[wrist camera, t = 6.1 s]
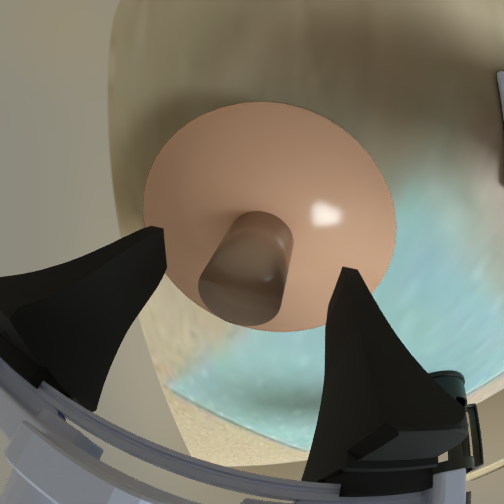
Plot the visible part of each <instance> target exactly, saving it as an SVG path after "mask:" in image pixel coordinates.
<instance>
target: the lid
mask: <svg viewBox="0 0 504 504" xmlns="http://www.w3.org/2000/svg"><path fill="white" fill-rule="evenodd" d="M143 216H144V223H145V228H146V227H149V226H155V227H160V228H164V240H165V250H166V260H167V269H166V271H165V273H166V274H167V276H168V277H169V278H170V280H171V281H172V282H173V283H174V284H175V285H176V287H177V288H178V289H180V290H181V291H182V292H183V293H184V294H185V295H186V296H187V297H188V298H189V299H191V300H192V301H193V302H195V303H196V304H197V305H199V306H200V307H202V308H203V309H205V310H206V311H208V312H210V313H212V314H214V315H215V316H217V317H219V318H221V319H223V320H225V321H227V322H230V323H233V324H236V325H240V326H243V327H247V328H252V329H256V330H263V331H271V332H292V331H302V330H307V329H313V328H316V327H320V326H323V325H326V319H327V311H328V304H329V302H330V299H331V296H332V294H333V291H334V289H335V286H336V283H337V280H338V278H339V275H340V272H341V269H342V266H344V267H348V268H353V269H357V270H358V271H359V273H360V274H361V276H362V278H363V280H364V282H365V284H366V285H367V287H368V289H369V291H370V293H371V294H372V293H373V292H374V290H375V289H376V288H377V287H378V285H379V284H380V282H381V280H382V279H383V277H384V275H385V273H386V272H387V269H388V267H389V264H390V262H391V259H392V256H393V251H394V247H395V241H396V216H395V208H394V204H393V200H392V197H391V193H390V190H389V188H388V186H387V183H386V181H385V179H384V176H383V174H382V173H381V171H380V170H379V168H378V166H377V165H376V163H375V162H374V160H373V159H372V157H371V156H370V154H369V153H368V152H367V151H366V150H365V149H364V147H363V146H362V145H361V144H360V143H359V142H358V141H357V140H356V139H355V138H354V137H353V136H352V135H351V134H349V133H348V132H347V131H346V130H344V129H343V128H342V127H341V126H339V125H338V124H336V123H334V122H333V121H331V120H329V119H328V118H326V117H324V116H322V115H320V114H318V113H315V112H313V111H310V110H308V109H305V108H302V107H298V106H294V105H290V104H286V103H278V102H268V101H259V102H244V103H239V104H234V105H230V106H225V107H221V108H218V109H216V110H213V111H211V112H208V113H205V114H203V115H201V116H199V117H198V118H196V119H194V120H192V121H191V122H189V123H187V124H186V125H185V126H184V127H182V128H181V129H180V130H179V131H178V132H176V133H175V134H174V135H173V136H172V137H171V138H170V139H169V141H168V142H167V143H166V144H165V145H164V146H163V148H162V149H161V151H160V152H159V154H158V155H157V157H156V158H155V160H154V162H153V165H152V167H151V169H150V171H149V174H148V178H147V181H146V185H145V190H144V198H143Z"/></svg>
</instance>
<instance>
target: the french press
mask: <svg viewBox="0 0 504 504" xmlns="http://www.w3.org/2000/svg"><path fill="white" fill-rule="evenodd" d="M429 375H430V376H431V377H432V378H433V379H434V380H435V381H436V382H437V383H438V384H439V385H440V386H441V387H442V388H443V389H444V390H445V391H446V392H447V393H448V394H450V395H451V396H452V397H453V398H454V399H455V400H457V401H458V402H459V403H460V404H461V405H462V406H464V407H465V411H466V412H468V414H469V420H470V428H471V436H472V445H473V456H471V455H470V443H469V434H468V435H467V437H466V438H465V439H464V440H463V441H462V442H461V443H460V444H458V445H457V446H455V447H454V448H452V449H450V450H448V461H444V462H440V463H438V465H437V467H434V468H433V475H435V474H438V473H442V472H447V471H452V470H457V469H462V468H465V469H466V473H468V472H470V471H473V470H475V469H477V468H479V467H481V466H482V465H483V463H484V462H483V449H482V439H481V431H480V424H479V418H478V411H477V406H476V404H468V405H467V398H466V393H465V388H464V383H465V380H464V376H463V375H462V374H461V373H459V372H456V371H441V372H436V373H432V374H429ZM467 424H468V423H467ZM466 504H471V491H470V492H466Z"/></svg>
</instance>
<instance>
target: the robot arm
mask: <svg viewBox="0 0 504 504" xmlns="http://www.w3.org/2000/svg"><path fill="white" fill-rule="evenodd" d="M497 81H498V86H499V91H500V97H501V104H502V111H503V119H504V71H499V72H498V73H497ZM166 269H167V260H166V250H165V240H164V228H160V227H155V226H149V227H146V228H143V229H141V230H139V231H136V232H134V233H132V234H130V235H128V236H126V237H124V238H121V239H119V240H117V241H115V242H114V243H111V244H110V245H107V246H105V247H102V248H100V249H98V250H96V251H94V252H91V253H89V254H87V255H84V256H82V257H79V258H77V259H74V260H71V261H69V262H66V263H63V264H60V265H57V266H53V267H50V268H46V269H43V270H39V271H35V272H31V273H25V274H20V275H13V276H5V277H0V429H1V431H2V432H3V433H4V434H5V436H6V437H7V438H8V439H9V440H10V442H9V444H8V445H7V447H6V449H5V457H6V459H7V461H8V462H9V464H11V466H12V467H13V470H12V472H11V475H10V477H9V479H8V481H7V483H6V485H5V487H4V490H3V492H2V494H1V496H0V504H200V503H197V502H193V501H191V500H187V499H184V498H182V497H179V496H176V495H173V494H171V493H168V492H165V491H163V490H160V489H158V488H155V487H153V486H151V485H148V484H146V483H144V482H141V481H139V480H137V479H135V478H133V477H131V476H129V475H127V474H125V473H123V472H121V471H119V470H117V469H115V468H113V467H111V466H109V465H107V464H106V463H104V462H102V461H100V457H101V455H102V453H103V449H102V448H101V447H99V446H98V445H96V444H95V443H93V442H92V441H91V440H89V439H88V438H87V437H85V436H84V435H83V434H82V433H81V432H80V431H78V430H77V429H75V428H74V427H73V426H71V425H70V424H68V423H67V422H66V419H65V417H66V418H67V419H69V420H70V421H72V422H73V423H75V424H76V425H78V426H80V427H81V428H83V429H84V430H86V431H88V432H89V433H91V434H93V435H94V436H96V437H98V438H100V439H102V440H103V441H105V442H107V443H109V444H110V445H112V446H114V447H116V448H118V449H120V450H122V451H124V452H126V453H128V454H130V455H133V456H134V457H137V458H139V459H141V460H143V461H146V462H148V463H150V464H153V465H155V466H157V467H160V468H162V469H165V470H167V471H170V472H173V473H176V474H178V475H181V476H184V477H187V478H190V479H193V480H196V481H199V482H203V483H206V484H209V485H213V486H216V487H220V488H224V489H228V490H232V491H236V492H240V493H245V494H250V495H255V496H261V497H267V498H273V499H280V500H287V501H296V502H293V503H291V504H466V469H465V468H462V469H457V470H452V471H447V472H442V473H438V474H435V475H433V468H434V467H437V465H438V456H439V455H441V454H443V453H445V452H447V451H448V450H450V449H452V448H454V447H455V446H457V445H458V444H460V443H461V442H462V441H463V440H464V439H465V438H466V437H467V435H468V424H467V417H466V411H465V407H464V406H462V405H461V404H460V403H459V402H458V401H457V400H455V399H454V398H453V397H452V396H451V395H450V394H448V393H447V392H446V391H445V390H444V389H443V388H442V387H441V386H440V385H439V384H438V383H437V382H436V381H435V380H434V379H433V378H432V377H431V376H430V375H429V374H428V373H427V372H426V371H425V370H424V369H423V368H422V366H421V365H420V364H419V363H418V362H417V361H416V360H415V358H414V357H413V356H412V355H411V354H410V352H409V351H408V350H407V348H406V347H405V346H404V344H403V343H402V342H401V340H400V339H399V338H398V336H397V335H396V333H395V332H394V331H393V329H392V328H391V326H390V324H389V323H388V321H387V320H386V318H385V317H384V315H383V313H382V312H381V310H380V308H379V307H378V305H377V303H376V302H375V300H374V298H373V296H372V295H371V293H370V291H369V289H368V287H367V285H366V284H365V282H364V280H363V278H362V276H361V274H360V273H359V271H358V270H357V269H353V268H348V267H344V266H342V269H341V272H340V275H339V278H338V280H337V283H336V286H335V289H334V291H333V294H332V296H331V299H330V302H329V304H328V311H327V319H326V327H325V376H324V387H323V393H322V399H321V405H320V411H319V416H318V421H317V425H316V430H315V434H314V438H313V442H312V446H311V450H310V454H309V457H308V461H307V464H306V467H305V471H304V474H303V477H302V480H301V481H297V480H289V479H282V478H276V477H270V476H264V475H259V474H254V473H249V472H245V471H240V470H236V469H232V468H228V467H224V466H221V465H217V464H213V463H210V462H207V461H203V460H200V459H197V458H194V457H191V456H188V455H185V454H182V453H179V452H176V451H174V450H171V449H169V448H166V447H163V446H161V445H158V444H156V443H154V442H151V441H149V440H146V439H144V438H142V437H140V436H137V435H135V434H133V433H131V432H129V431H126V430H125V429H123V428H121V427H118V426H116V425H115V424H113V423H111V422H109V421H107V420H105V419H103V418H101V417H100V416H98V415H96V414H94V413H92V412H93V411H96V409H97V405H98V402H99V398H100V395H101V392H102V388H103V385H104V382H105V380H106V377H107V374H108V372H109V369H110V367H111V364H112V362H113V360H114V357H115V355H116V353H117V351H118V348H119V347H120V344H121V342H122V340H123V338H124V337H125V334H126V333H127V331H128V329H129V328H130V326H131V324H132V323H133V321H134V320H135V318H136V317H137V316H138V314H139V313H140V311H141V310H142V308H143V307H144V305H145V304H146V303H147V301H148V300H149V298H150V297H151V295H152V294H153V293H154V291H155V290H156V288H157V287H158V285H159V283H160V281H161V279H162V277H163V275H164V273H165V271H166ZM240 504H290V503H282V502H271V501H263V500H255V499H249V498H246V499H244V500H243V502H241V503H240Z"/></svg>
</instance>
